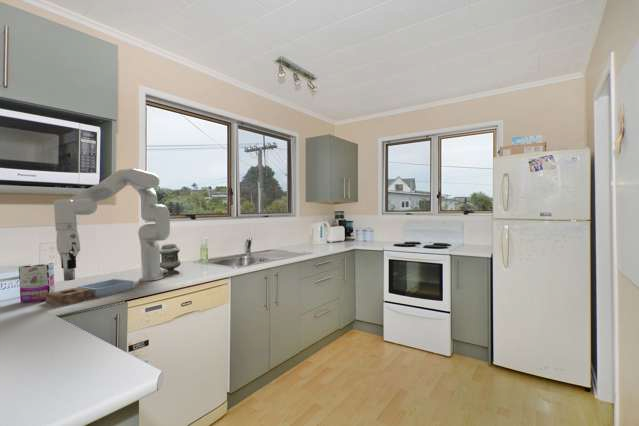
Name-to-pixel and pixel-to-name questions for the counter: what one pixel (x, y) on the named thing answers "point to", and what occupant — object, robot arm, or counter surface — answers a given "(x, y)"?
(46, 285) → the candy bar box
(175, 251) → the stone urn
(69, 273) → the pin
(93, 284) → the tray
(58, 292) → the socket block
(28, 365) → the counter surface
